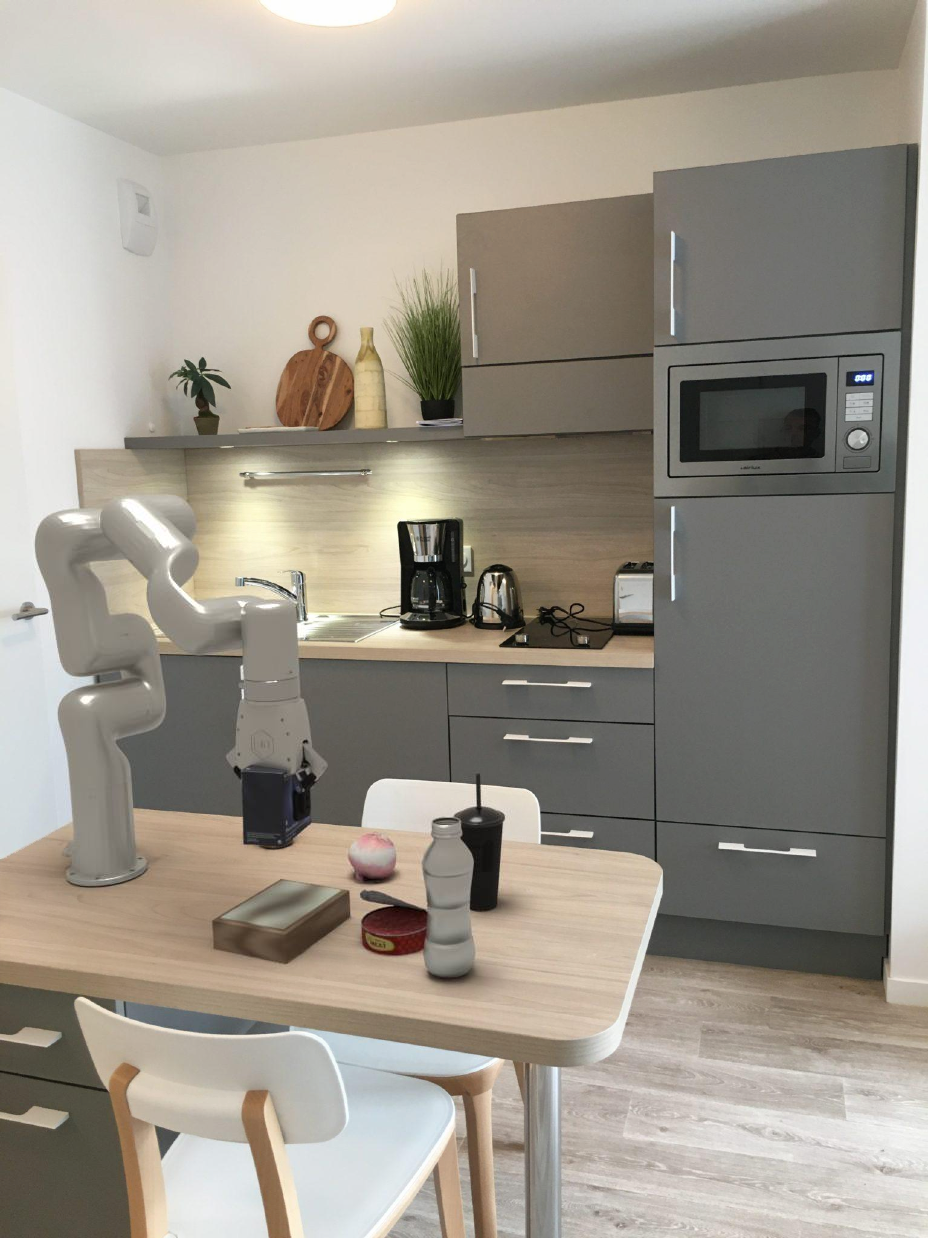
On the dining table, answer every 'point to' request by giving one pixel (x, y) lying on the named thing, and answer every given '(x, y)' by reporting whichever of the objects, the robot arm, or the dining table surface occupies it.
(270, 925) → the base
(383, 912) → the canned food
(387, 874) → the onion
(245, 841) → the small box
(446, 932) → the plastic bottle
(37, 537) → the robot arm
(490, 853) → the drinking cup
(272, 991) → the dining table surface
